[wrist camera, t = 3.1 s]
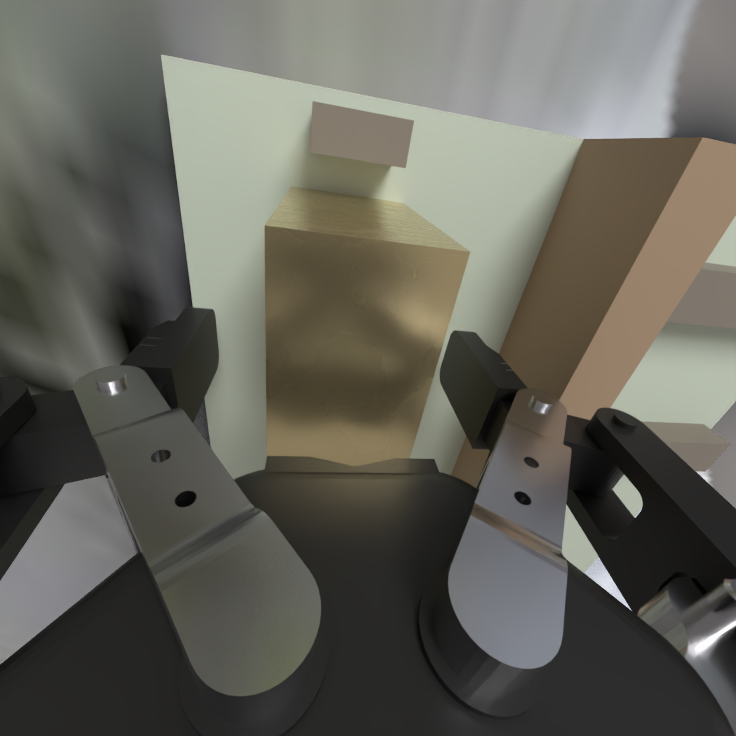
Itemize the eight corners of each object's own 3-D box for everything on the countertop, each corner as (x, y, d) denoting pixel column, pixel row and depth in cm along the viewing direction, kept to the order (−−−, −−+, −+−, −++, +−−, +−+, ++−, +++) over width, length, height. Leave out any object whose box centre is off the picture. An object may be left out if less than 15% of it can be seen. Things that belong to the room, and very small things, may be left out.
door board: (576, 558, 28) (622, 633, 23) (231, 571, 23) (212, 666, 19) (873, 200, 14) (1109, 225, 10) (175, 62, 9) (60, -2, 5)
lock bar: (364, 418, 16) (384, 545, 11) (285, 415, 15) (267, 548, 10) (403, 202, 11) (470, 251, 6) (291, 186, 11) (264, 225, 6)
